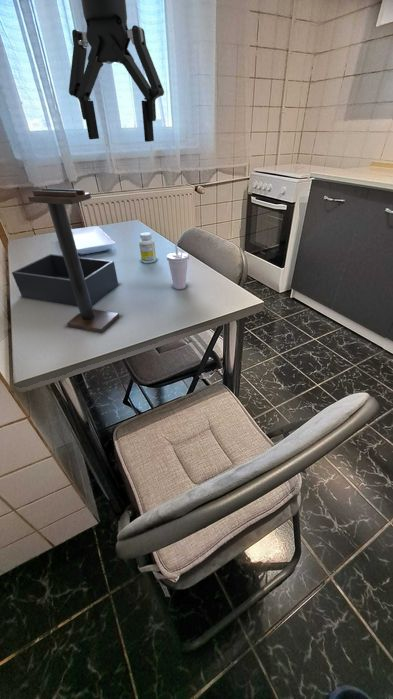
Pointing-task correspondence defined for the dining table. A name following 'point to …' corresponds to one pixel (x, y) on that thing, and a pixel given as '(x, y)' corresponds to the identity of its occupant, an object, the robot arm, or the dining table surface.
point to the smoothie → (178, 267)
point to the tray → (91, 240)
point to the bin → (64, 279)
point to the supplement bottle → (147, 248)
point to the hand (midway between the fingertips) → (121, 140)
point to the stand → (73, 256)
